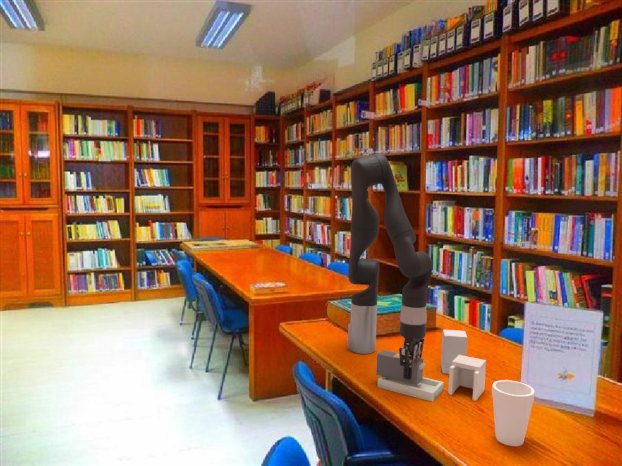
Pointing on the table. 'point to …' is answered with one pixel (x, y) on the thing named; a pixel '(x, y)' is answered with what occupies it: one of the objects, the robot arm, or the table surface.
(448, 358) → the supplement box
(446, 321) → the table surface
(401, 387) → the tray
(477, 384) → the bay
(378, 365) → the grey rectangular block
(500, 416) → the foam cup
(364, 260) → the robot arm
